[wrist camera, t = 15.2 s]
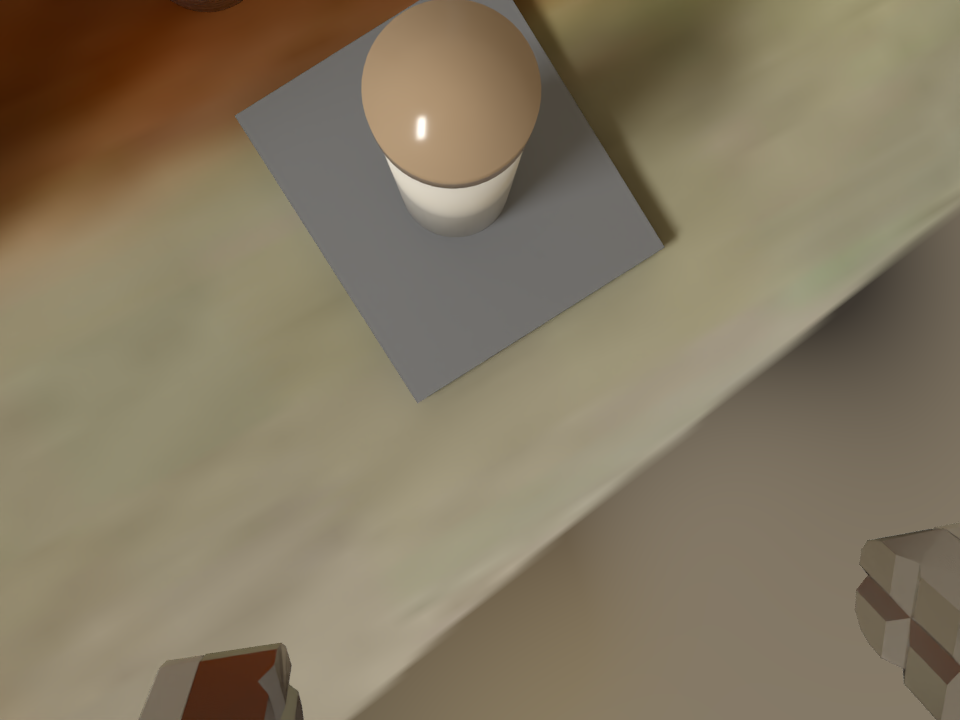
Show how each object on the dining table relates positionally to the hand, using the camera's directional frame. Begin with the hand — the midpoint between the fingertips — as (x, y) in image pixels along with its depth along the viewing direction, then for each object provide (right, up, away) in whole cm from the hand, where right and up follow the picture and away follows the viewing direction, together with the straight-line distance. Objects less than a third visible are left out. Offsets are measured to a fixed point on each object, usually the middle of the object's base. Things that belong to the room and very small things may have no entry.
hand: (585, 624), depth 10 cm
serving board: (-3, +12, +25) cm, 28 cm away
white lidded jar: (-3, +12, +23) cm, 26 cm away
